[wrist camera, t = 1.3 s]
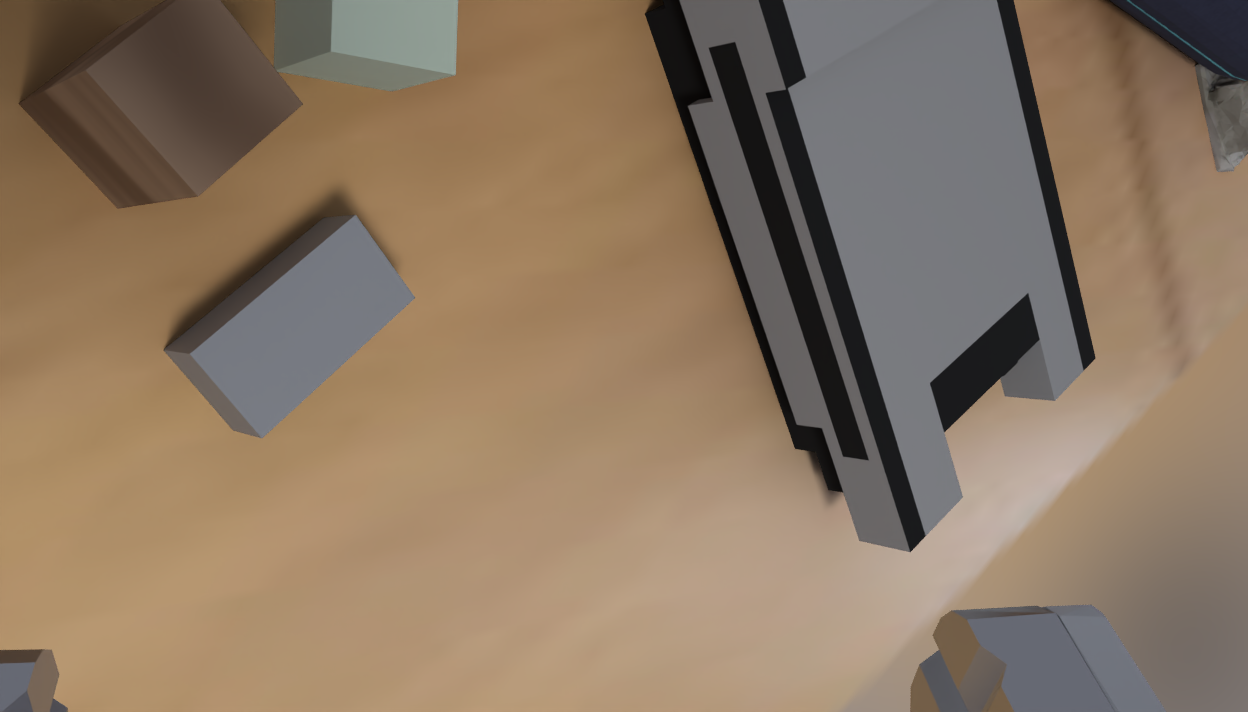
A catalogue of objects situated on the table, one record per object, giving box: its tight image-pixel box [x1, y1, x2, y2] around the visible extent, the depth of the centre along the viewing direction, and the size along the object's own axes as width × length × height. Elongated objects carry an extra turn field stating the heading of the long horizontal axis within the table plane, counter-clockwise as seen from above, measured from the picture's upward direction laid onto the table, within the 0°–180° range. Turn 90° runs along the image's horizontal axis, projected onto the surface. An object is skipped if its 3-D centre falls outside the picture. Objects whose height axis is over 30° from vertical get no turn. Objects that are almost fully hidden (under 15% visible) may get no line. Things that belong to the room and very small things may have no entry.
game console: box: [645, 0, 1095, 552], centre depth 62 cm, size 21×32×8 cm, turn 27°
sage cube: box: [274, 0, 458, 91], centre depth 43 cm, size 5×5×5 cm
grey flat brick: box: [164, 215, 415, 438], centre depth 43 cm, size 8×4×3 cm, turn 129°
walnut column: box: [19, 0, 303, 208], centre depth 37 cm, size 4×4×8 cm
